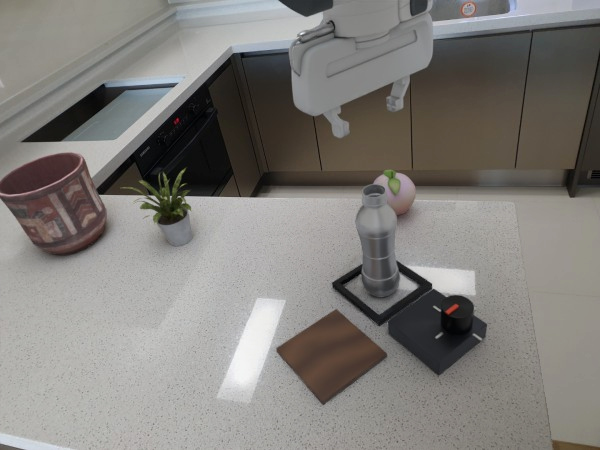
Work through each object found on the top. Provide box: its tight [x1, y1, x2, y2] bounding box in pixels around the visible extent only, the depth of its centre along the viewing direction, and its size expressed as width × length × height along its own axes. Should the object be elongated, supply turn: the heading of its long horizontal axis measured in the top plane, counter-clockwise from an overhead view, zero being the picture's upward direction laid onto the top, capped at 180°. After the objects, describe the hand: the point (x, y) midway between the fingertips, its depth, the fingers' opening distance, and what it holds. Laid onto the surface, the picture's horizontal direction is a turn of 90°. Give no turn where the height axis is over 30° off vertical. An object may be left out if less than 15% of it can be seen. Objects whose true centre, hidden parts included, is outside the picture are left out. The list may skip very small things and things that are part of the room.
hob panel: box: [387, 287, 488, 376], centre depth 68 cm, size 11×11×3 cm
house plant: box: [121, 167, 194, 247], centre depth 95 cm, size 14×14×16 cm
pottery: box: [0, 151, 108, 256], centre depth 101 cm, size 18×18×18 cm
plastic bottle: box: [354, 183, 401, 298], centre depth 73 cm, size 6×7×20 cm
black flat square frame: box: [331, 259, 433, 327], centre depth 79 cm, size 12×12×1 cm
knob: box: [441, 294, 475, 334], centre depth 66 cm, size 4×4×4 cm
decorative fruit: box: [372, 169, 417, 216], centre depth 93 cm, size 9×8×10 cm
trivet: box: [275, 308, 388, 405], centre depth 69 cm, size 12×12×1 cm
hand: (369, 122), depth 61 cm, fingers open, 8 cm apart
